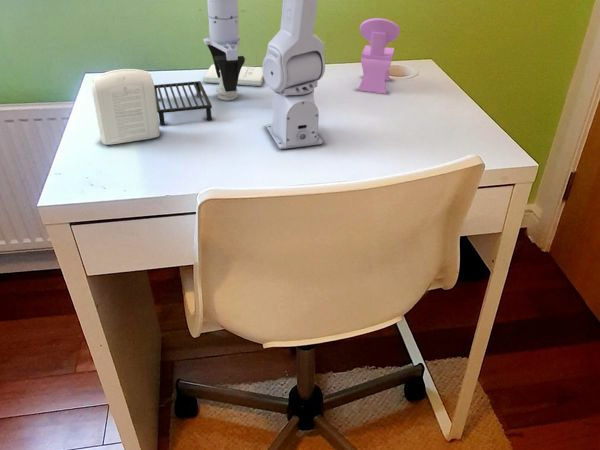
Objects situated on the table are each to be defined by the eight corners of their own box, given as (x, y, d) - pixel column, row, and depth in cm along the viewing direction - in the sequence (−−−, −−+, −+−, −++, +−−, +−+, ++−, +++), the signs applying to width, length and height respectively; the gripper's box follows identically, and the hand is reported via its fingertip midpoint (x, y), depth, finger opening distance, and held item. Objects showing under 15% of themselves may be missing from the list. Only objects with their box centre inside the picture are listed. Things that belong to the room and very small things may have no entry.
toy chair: (394, 79, 125) (403, 11, 117) (391, 94, 118) (400, 22, 110) (358, 76, 127) (364, 8, 118) (352, 89, 120) (359, 18, 111)
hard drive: (212, 70, 127) (266, 73, 126) (204, 83, 120) (260, 86, 120) (212, 63, 126) (266, 66, 125) (203, 76, 119) (260, 79, 119)
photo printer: (157, 128, 101) (148, 62, 94) (163, 138, 98) (154, 70, 91) (99, 137, 98) (86, 69, 91) (103, 148, 95) (89, 78, 88)
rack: (212, 120, 105) (211, 105, 103) (159, 126, 102) (157, 111, 101) (201, 94, 115) (200, 80, 113) (152, 99, 112) (150, 85, 111)
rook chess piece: (219, 92, 116) (217, 54, 112) (240, 93, 116) (239, 56, 111) (214, 100, 113) (211, 61, 108) (235, 102, 112) (233, 63, 108)
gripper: (196, 6, 109) (201, 72, 117) (209, 27, 98) (213, 99, 106) (231, 4, 111) (233, 70, 119) (247, 25, 100) (249, 95, 108)
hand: (226, 83), depth 113 cm, fingers open, 7 cm apart
